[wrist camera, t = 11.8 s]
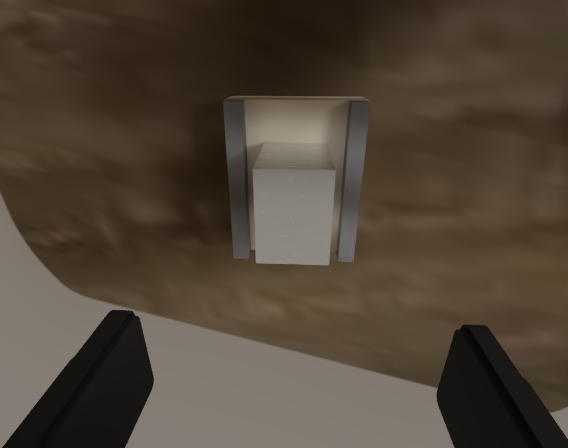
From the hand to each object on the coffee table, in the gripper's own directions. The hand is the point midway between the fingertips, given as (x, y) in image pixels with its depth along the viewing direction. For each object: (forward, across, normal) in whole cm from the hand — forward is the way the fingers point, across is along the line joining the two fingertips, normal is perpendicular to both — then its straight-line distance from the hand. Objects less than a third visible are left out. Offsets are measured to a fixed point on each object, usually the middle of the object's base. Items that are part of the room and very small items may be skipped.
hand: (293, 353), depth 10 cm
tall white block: (+17, 0, 0) cm, 17 cm away
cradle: (+20, 0, +1) cm, 20 cm away
